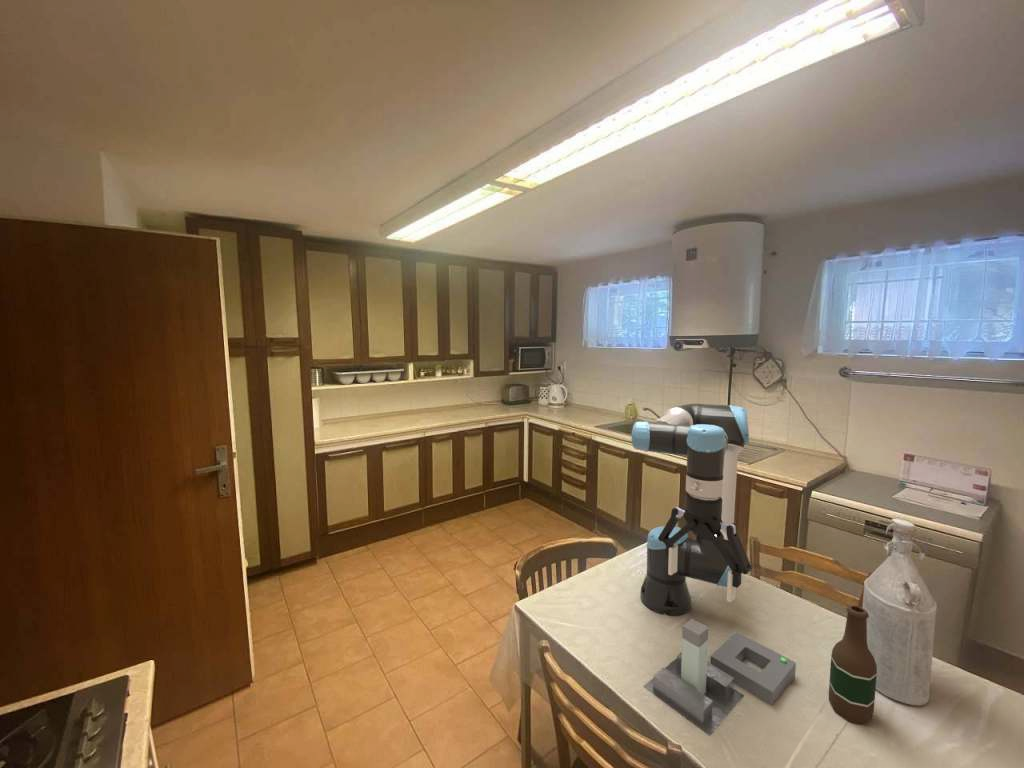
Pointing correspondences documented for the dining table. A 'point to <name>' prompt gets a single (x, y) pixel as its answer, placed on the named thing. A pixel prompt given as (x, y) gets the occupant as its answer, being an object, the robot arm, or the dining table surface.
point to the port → (760, 684)
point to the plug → (694, 655)
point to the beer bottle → (853, 671)
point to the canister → (900, 620)
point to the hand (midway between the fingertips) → (700, 585)
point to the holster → (696, 695)
